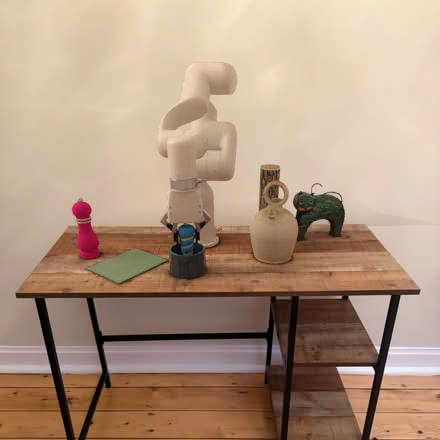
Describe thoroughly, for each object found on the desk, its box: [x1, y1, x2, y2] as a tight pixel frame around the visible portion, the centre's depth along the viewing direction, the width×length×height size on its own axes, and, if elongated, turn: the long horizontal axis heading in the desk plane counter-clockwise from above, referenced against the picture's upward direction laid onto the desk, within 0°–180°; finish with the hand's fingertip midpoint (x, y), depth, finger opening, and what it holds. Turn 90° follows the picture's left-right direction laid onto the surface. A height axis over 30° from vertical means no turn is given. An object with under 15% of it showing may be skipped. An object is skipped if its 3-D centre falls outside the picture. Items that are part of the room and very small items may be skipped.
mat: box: [86, 247, 169, 285], centre depth 130 cm, size 20×16×1 cm
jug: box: [249, 180, 298, 265], centre depth 128 cm, size 15×16×25 cm
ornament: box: [177, 223, 195, 255], centre depth 122 cm, size 5×5×15 cm
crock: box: [168, 242, 207, 280], centre depth 124 cm, size 11×11×8 cm
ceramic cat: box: [292, 182, 346, 242], centre depth 144 cm, size 20×6×20 cm, turn 104°
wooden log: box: [258, 163, 281, 212], centre depth 145 cm, size 7×7×25 cm
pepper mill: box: [71, 196, 100, 260], centre depth 132 cm, size 7×7×20 cm
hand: (187, 242), depth 122 cm, fingers closed on ornament, 5 cm apart
